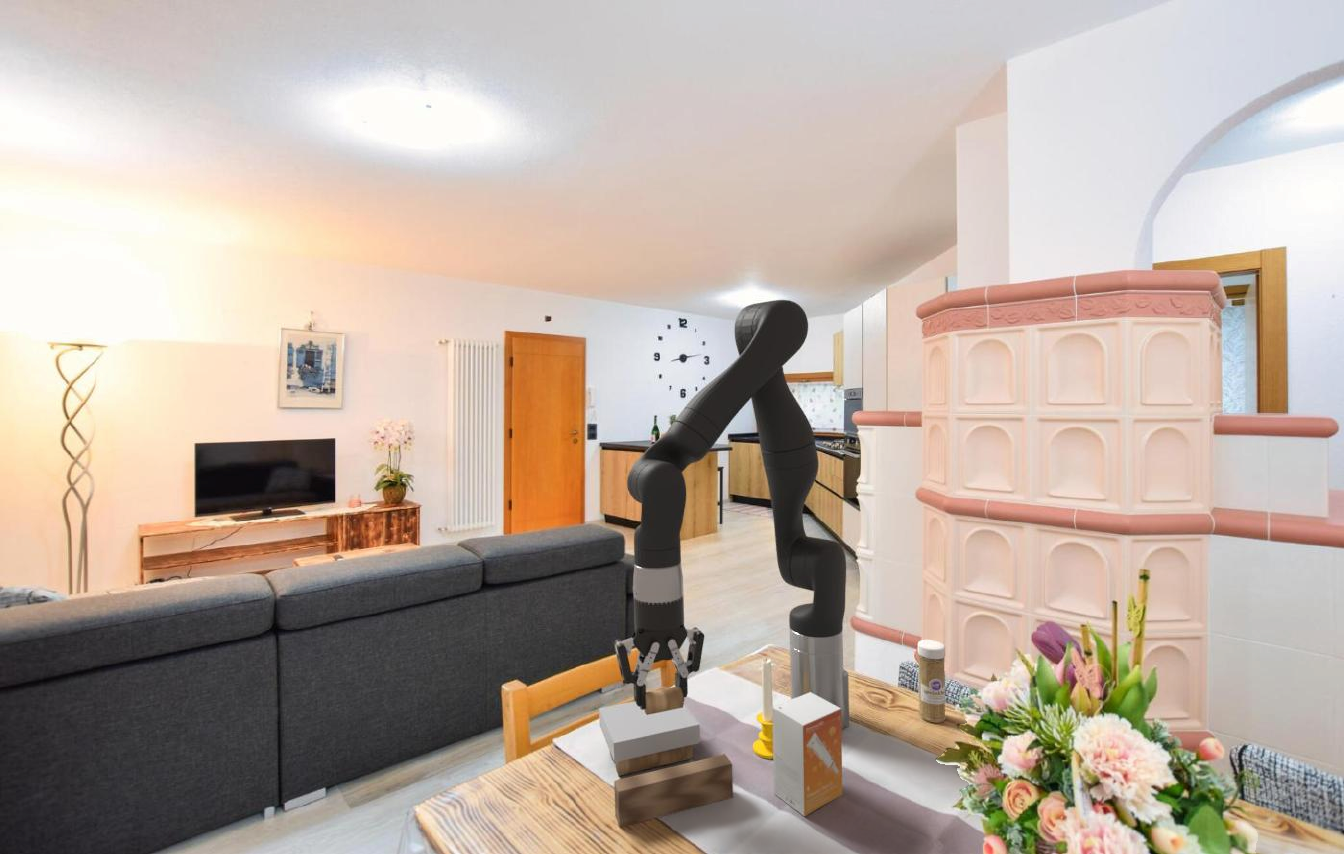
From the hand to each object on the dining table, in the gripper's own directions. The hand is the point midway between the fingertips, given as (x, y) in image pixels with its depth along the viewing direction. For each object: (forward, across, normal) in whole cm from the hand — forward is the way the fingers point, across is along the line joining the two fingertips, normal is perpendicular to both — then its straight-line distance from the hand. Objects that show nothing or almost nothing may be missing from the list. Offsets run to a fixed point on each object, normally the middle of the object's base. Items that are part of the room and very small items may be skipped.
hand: (661, 702), depth 88 cm
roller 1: (0, 0, 0) cm, 0 cm away
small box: (+13, +19, -10) cm, 25 cm away
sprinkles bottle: (+13, +51, 0) cm, 53 cm away
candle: (+13, +19, +2) cm, 23 cm away
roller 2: (+13, 0, +5) cm, 14 cm away
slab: (+9, 0, +8) cm, 12 cm away
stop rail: (+13, 0, -5) cm, 14 cm away
